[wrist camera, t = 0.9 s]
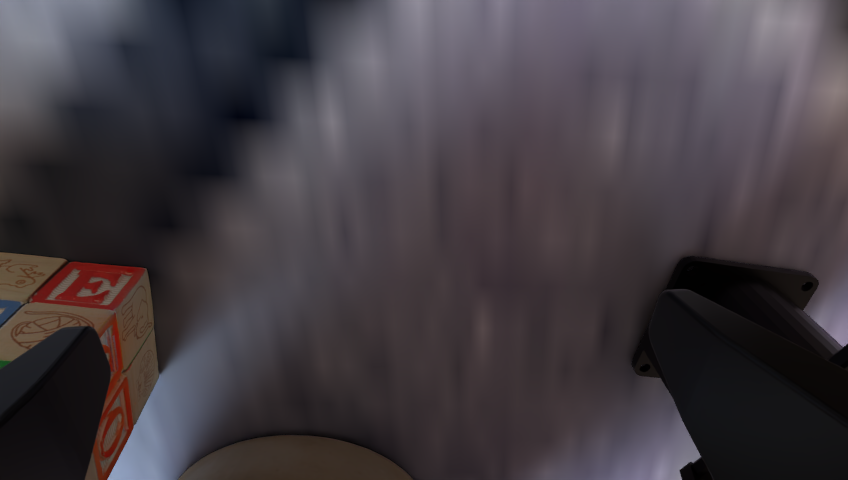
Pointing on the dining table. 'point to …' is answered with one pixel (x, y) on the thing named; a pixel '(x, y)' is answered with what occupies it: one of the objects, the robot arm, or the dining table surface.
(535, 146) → the dining table surface
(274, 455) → the plant pot
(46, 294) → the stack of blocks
